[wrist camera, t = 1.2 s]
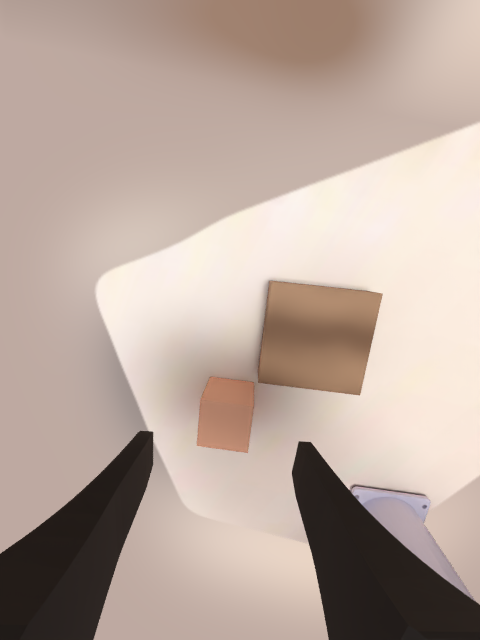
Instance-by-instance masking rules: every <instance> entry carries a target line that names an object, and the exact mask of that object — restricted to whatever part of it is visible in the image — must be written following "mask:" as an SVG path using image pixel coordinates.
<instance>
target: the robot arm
mask: <svg viewBox="0 0 480 640" xmlns="http://www.w3.org/2000/svg"><path fill="white" fill-rule="evenodd" d="M152 466H153V432H149V431H140V432H138V433H137V434H136V436H135V437H134V438H133V439H132V440H131V441H130V443H129V444H128V445H127V446H126V447H125V448H124V449H123V450H122V451H121V452H120V454H119V455H118V456H117V457H116V458H115V459H114V460H113V461H112V462H111V463H110V464H109V465H108V466H107V467H106V468H105V469H104V470H103V471H102V472H101V473H100V474H99V475H98V476H97V477H96V478H95V479H94V480H93V481H92V482H91V483H90V484H89V485H87V486H86V487H85V488H84V489H83V490H82V491H81V492H80V493H79V494H78V495H76V496H75V497H74V498H73V499H72V500H71V501H69V502H68V503H67V504H66V505H65V506H64V507H62V508H61V509H60V510H59V511H58V512H56V513H55V514H54V515H52V516H51V517H50V518H49V519H47V520H46V521H45V522H44V523H42V524H41V525H40V526H39V527H37V528H36V529H35V530H33V531H32V532H30V533H29V534H28V535H26V536H25V537H23V538H22V539H21V540H19V541H18V542H16V543H15V544H13V545H12V546H11V547H9V548H8V549H6V550H5V551H4V552H2V553H1V554H0V640H93V639H94V636H95V632H96V629H97V626H98V622H99V619H100V616H101V613H102V609H103V606H104V603H105V600H106V596H107V593H108V590H109V586H110V584H111V580H112V577H113V574H114V571H115V568H116V565H117V562H118V559H119V555H120V553H121V550H122V548H123V545H124V543H125V540H126V538H127V535H128V533H129V530H130V528H131V525H132V522H133V520H134V518H135V515H136V512H137V510H138V507H139V505H140V502H141V500H142V498H143V495H144V492H145V490H146V487H147V483H148V480H149V477H150V473H151V470H152ZM292 477H293V483H294V489H295V495H296V499H297V502H298V506H299V510H300V513H301V517H302V521H303V524H304V528H305V531H306V535H307V538H308V542H309V545H310V549H311V552H312V556H313V560H314V565H315V569H316V574H317V579H318V584H319V589H320V594H321V599H322V604H323V610H324V615H325V621H326V626H327V632H328V637H329V640H480V605H479V604H478V603H477V602H476V601H475V600H474V598H473V597H472V595H471V594H470V592H469V591H468V589H467V588H466V586H465V585H464V583H463V582H462V580H461V579H460V577H459V576H458V574H457V573H456V571H455V570H454V568H453V567H452V565H451V564H450V562H449V561H448V559H447V558H446V556H445V555H444V553H443V552H442V550H441V549H440V547H439V546H438V544H437V543H436V541H435V540H434V538H433V537H432V535H431V534H430V532H429V531H428V529H427V528H426V526H425V525H424V521H425V518H426V515H427V512H428V509H429V506H430V500H429V498H428V497H426V496H421V495H414V494H407V493H400V492H393V491H386V490H379V489H372V488H364V487H353V488H352V491H351V492H350V491H349V490H348V488H347V487H346V486H345V485H344V484H343V482H342V481H341V480H340V479H339V478H338V476H337V475H336V474H335V473H334V471H333V470H332V469H331V468H330V466H329V465H328V464H327V462H326V461H325V460H324V459H323V457H322V456H321V455H320V453H319V452H318V451H317V449H316V448H315V447H314V446H313V444H312V443H311V442H300V441H299V444H298V448H297V452H296V457H295V461H294V465H293V470H292ZM356 495H357V496H356Z"/></svg>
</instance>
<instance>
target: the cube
mask: <svg viewBox="0 0 480 640" xmlns="http://www.w3.org/2000/svg"><path fill="white" fill-rule="evenodd" d="M253 408H254V382H248V381H240V380H232V379H224V378H216V377H210V379H209V381H208V383H207V385H206V388H205V390H204V392H203V395H202V397H201V399H200V412H199V425H198V438H197V446H202V447H209V448H216V449H224V450H231V451H238V452H245V453H248V447H249V439H250V431H251V424H252V416H253Z"/></svg>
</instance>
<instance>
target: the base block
mask: <svg viewBox="0 0 480 640" xmlns="http://www.w3.org/2000/svg"><path fill="white" fill-rule="evenodd" d="M381 299H382V294H381V293H376V292H370V291H361V290H352V289H343V288H333V287H324V286H315V285H306V284H296V283H287V282H278V281H269V289H268V297H267V305H266V313H265V321H264V328H263V336H262V344H261V352H260V360H259V368H258V383H265V384H273V385H281V386H289V387H297V388H305V389H313V390H321V391H329V392H337V393H345V394H353V395H360V393H361V388H362V384H363V379H364V375H365V370H366V366H367V361H368V357H369V352H370V348H371V343H372V339H373V335H374V330H375V326H376V321H377V317H378V312H379V308H380V303H381Z"/></svg>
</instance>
